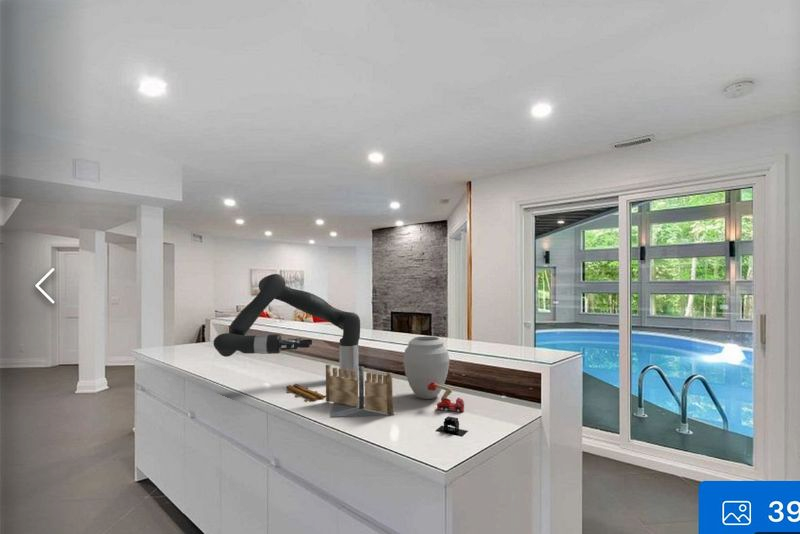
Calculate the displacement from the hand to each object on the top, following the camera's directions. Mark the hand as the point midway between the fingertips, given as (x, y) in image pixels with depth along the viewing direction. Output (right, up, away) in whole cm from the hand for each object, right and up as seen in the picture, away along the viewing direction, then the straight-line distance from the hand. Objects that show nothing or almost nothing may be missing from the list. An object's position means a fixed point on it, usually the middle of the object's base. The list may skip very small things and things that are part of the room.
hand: (310, 343), depth 159 cm
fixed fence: (+27, -23, -11) cm, 37 cm away
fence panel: (+13, -23, -3) cm, 27 cm away
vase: (+47, -24, +7) cm, 53 cm away
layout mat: (+22, -24, -4) cm, 32 cm away
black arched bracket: (+53, -23, -30) cm, 65 cm away
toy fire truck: (+54, -24, -10) cm, 59 cm away
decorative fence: (-6, -25, +13) cm, 29 cm away
